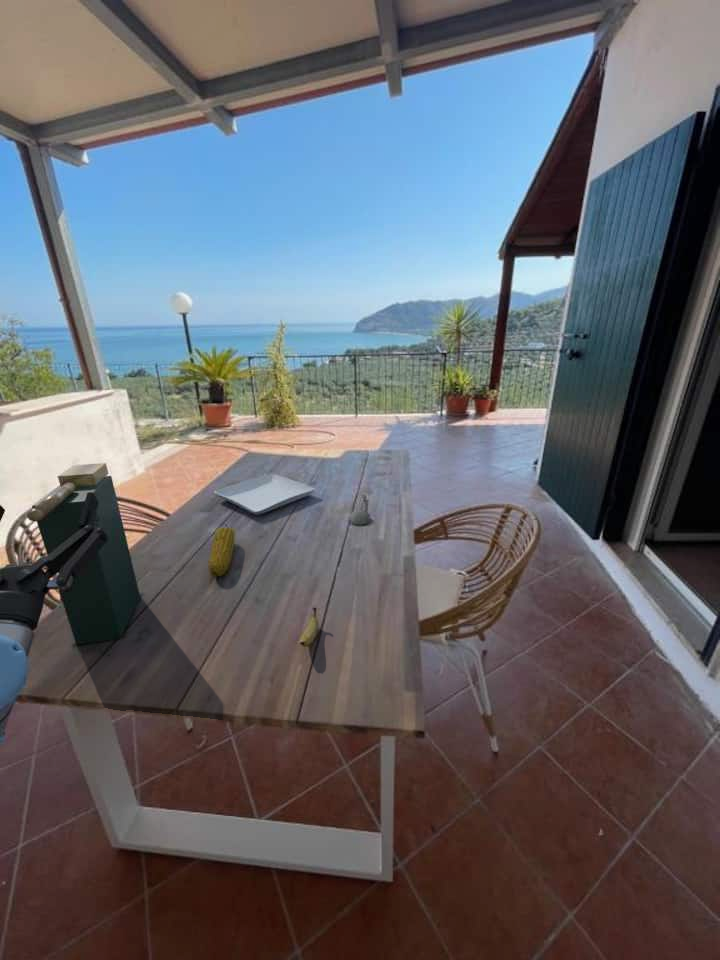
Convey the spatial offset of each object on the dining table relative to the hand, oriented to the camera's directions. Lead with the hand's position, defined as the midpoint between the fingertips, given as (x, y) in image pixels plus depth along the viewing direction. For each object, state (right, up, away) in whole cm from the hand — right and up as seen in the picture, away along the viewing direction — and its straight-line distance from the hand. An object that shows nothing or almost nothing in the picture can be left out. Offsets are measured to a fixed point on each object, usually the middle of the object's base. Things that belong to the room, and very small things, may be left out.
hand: (46, 501), depth 64 cm
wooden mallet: (-2, +1, +7) cm, 7 cm away
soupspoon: (+52, -8, +72) cm, 89 cm away
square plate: (+16, -4, +83) cm, 84 cm away
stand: (-2, -27, +20) cm, 33 cm away
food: (+14, -19, +43) cm, 48 cm away
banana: (+41, -29, +14) cm, 52 cm away
